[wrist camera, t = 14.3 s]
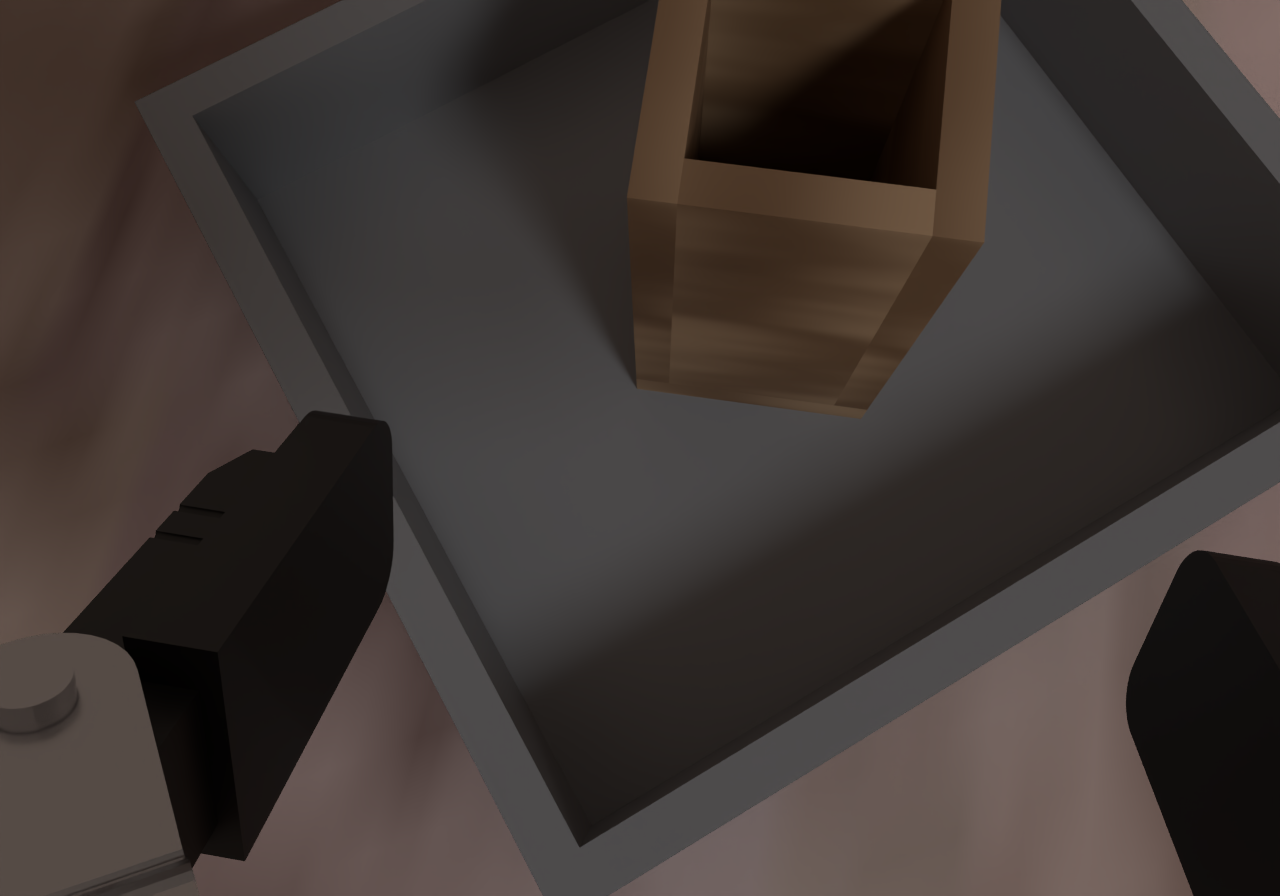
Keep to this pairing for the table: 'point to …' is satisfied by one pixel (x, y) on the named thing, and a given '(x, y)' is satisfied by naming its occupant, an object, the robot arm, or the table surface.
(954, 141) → the walnut crate
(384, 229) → the grey tray
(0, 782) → the robot arm
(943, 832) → the table surface
